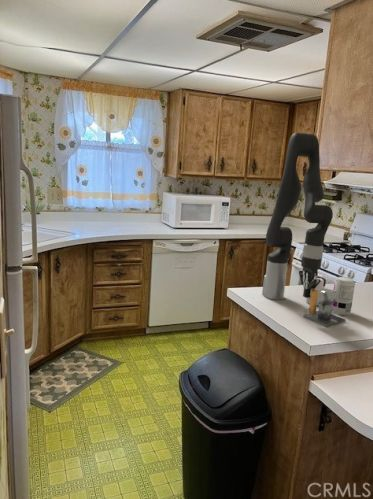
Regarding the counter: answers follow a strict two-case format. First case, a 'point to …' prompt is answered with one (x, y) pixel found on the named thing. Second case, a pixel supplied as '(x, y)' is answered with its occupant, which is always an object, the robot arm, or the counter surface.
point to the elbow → (320, 298)
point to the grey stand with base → (325, 316)
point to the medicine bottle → (319, 287)
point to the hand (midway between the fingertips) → (306, 297)
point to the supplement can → (343, 295)
